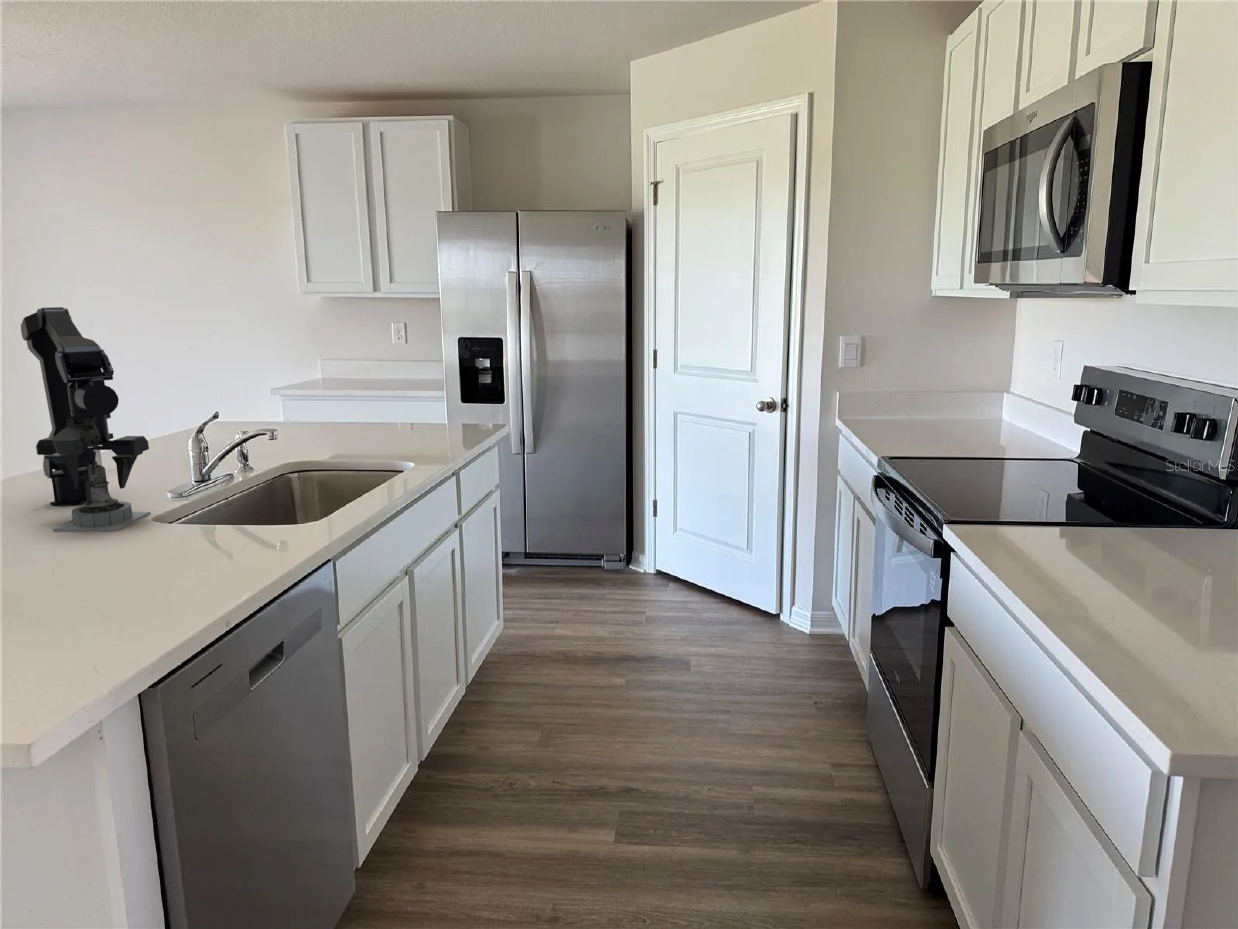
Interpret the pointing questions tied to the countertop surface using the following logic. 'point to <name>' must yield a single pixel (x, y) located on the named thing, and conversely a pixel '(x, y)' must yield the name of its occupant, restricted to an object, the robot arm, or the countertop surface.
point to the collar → (102, 519)
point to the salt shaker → (99, 491)
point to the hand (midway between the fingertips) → (99, 488)
